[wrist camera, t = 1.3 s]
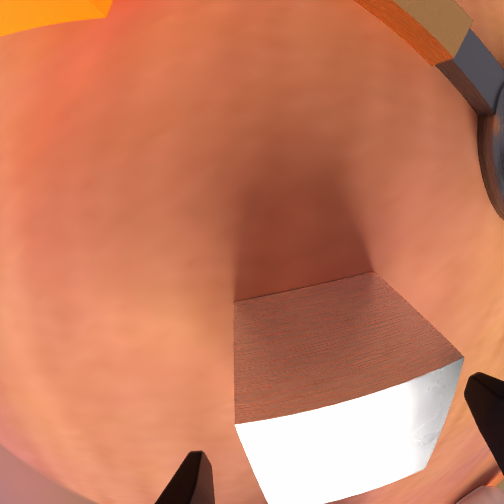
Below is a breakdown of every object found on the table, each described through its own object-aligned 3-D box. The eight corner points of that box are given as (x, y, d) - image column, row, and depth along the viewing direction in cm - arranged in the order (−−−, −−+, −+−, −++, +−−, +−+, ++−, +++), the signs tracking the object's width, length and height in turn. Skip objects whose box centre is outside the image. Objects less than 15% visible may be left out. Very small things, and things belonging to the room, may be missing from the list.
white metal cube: (373, 271, 11) (464, 357, 6) (373, 375, 13) (424, 468, 7) (233, 301, 11) (234, 424, 6) (260, 403, 13) (272, 512, 7)
